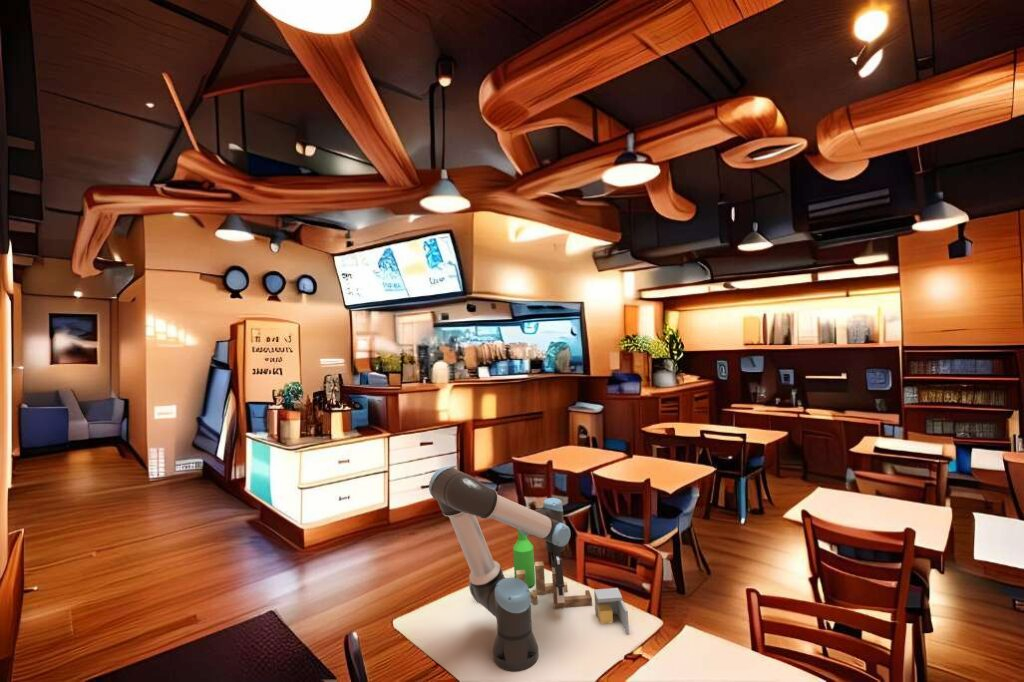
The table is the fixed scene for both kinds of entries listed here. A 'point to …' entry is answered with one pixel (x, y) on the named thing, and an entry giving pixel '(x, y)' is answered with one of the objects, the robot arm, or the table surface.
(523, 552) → the bottle
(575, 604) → the brown l-shaped piece
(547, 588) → the wooden l-shaped block
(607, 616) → the cube
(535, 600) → the tee
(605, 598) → the grey angled piece
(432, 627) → the table surface
